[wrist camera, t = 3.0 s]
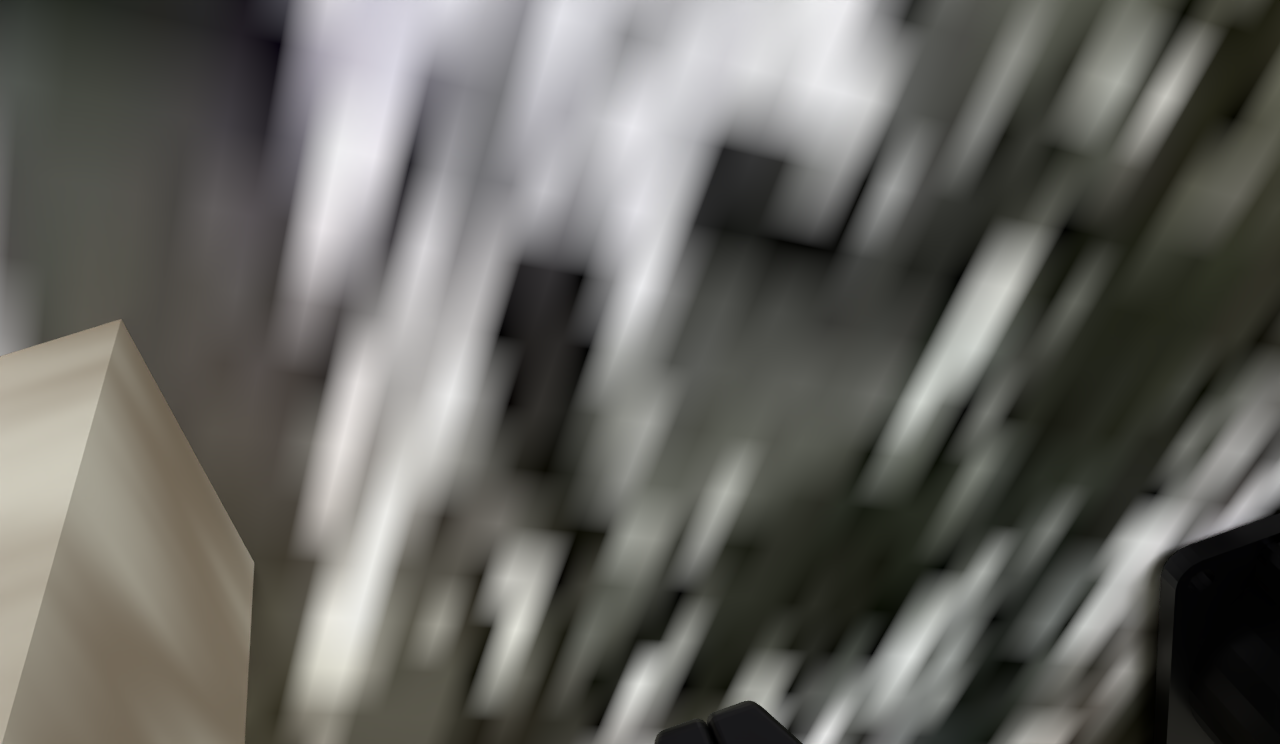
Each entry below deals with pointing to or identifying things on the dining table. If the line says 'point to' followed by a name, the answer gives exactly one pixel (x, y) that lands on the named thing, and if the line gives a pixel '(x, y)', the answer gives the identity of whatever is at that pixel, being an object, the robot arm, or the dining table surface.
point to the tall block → (112, 559)
